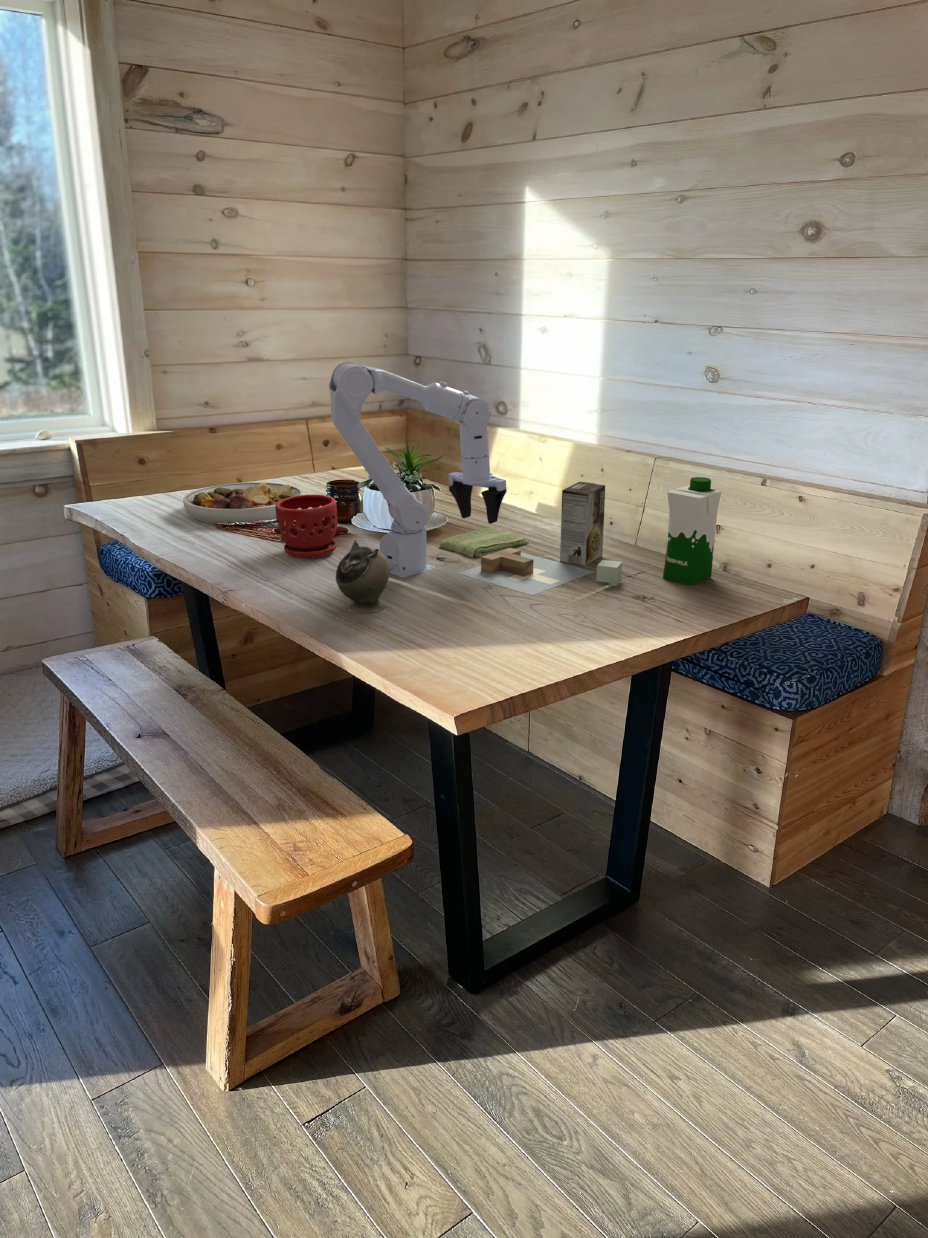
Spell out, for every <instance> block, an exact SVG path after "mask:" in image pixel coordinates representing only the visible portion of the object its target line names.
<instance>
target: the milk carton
mask: <svg viewBox="0 0 928 1238" xmlns="http://www.w3.org/2000/svg"><path fill="white" fill-rule="evenodd" d="M711 485H712V479H711V478H708V477H702V476H701V477H700V476H698V477H697V476H695V477H691V478H690V480H689V485H686V486H685V485H684V486H681V487H678V488H674V489H673V490H669V491H667V492H666V495H667V502H668V510H669V513H668V527H667V539H666V550H665V551H666V552H665V560H664V567H663V572H662V573H663V574H662V578H663V579H665V580H666V579H667V580H671V581H674V582H679V583H682V584H685V585H689V586H694V585H697V584H699V583H702V582H703V581H706V580H708V579H711V578H712V571H713V559H714V550H715V538H716V528H717V518H718V517H717V516H718V510H719V506H720V499H721V495H722V491H721V490H716V489H712V488H711V487H712V486H711Z"/></svg>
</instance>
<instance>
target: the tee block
mask: <svg viewBox="0 0 928 1238" xmlns="http://www.w3.org/2000/svg"><path fill="white" fill-rule="evenodd" d="M521 553H522V551H521V550H520V549H517V548H514V547H513V548H507V549H504V550H501V551H498V552H495V553H492V554H488V555H485V556H482V557H480V565H481V571H484V572H487V573H491V574H493V573H496V572H499V571H505V572H509V573H512V574H516V575H519V576H523V577H524V576H527V575H530V574H533V561H534V559H530V558H526V557H523V556H521Z"/></svg>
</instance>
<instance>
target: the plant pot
mask: <svg viewBox="0 0 928 1238" xmlns="http://www.w3.org/2000/svg"><path fill="white" fill-rule="evenodd" d="M297 508H299V509H297ZM275 509H276V518H277V521H276V522H277V526H278V529H279V533H280V535H281V538H282V539H283V541H284V542H285V544H284V545H283V549H284V552H285V553H286V554H287V555H289V556H290V557H293V558H296V559H307V560H308V559H319V558H322V557H325V556H328V555H330V554H332V553H333V552H334V551H335V550H336V548H337V546H338V543H337V541H336V540H335V539H334V538H335V536H336V533H337V532H336V531H337V525H338V524H337V523H338V506H337V501H336V499H335V498H334V497H332V496H330V495H326V494H303V495H299V496H293V497H289V498H285V499H282V500H280V501H278V502H277V503H276V505H275Z"/></svg>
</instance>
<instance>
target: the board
mask: <svg viewBox="0 0 928 1238" xmlns="http://www.w3.org/2000/svg"><path fill="white" fill-rule="evenodd" d="M521 556H523V557H526V558H530V559H534V561H533V574H530V575H527V576H524V577H523V576H519V575H516V574H512V573H509V572H505V571H499V572H496V573H493V574H491V573H487V572H484V571H481V564H480V565H477V566H475V567H472V568H469V569H466V570H463V571H459V572H457V574H458V575H462V576H464V577H465V576H466V577H468V578H472V579H475V580H478V581H482V582H485V583H488V584H489V583H490V584H492V585H495V586H498V587H503V588H505V589H509V590H511V591H512V590H513V591H516V592H519V593H523V594H526V595H530V596H534V595H538V594H540V593H543V592H545V591H548V590H550V589H553V588H555V587H558V586H561V585H564V584H567V583H568V582H572V581H574V580H577V579H579V578H582V577H583V578H584V577H585V576H587V575H590V574H593V573H595V571H594V570H590V569H585V568H583V567H577V566H574V565H570V564H566V563H563V562H560V561H559V562H558V561H555V560H552V559H547V558H543V557H539V556H535V555H532V554H528V553H525V552H521Z"/></svg>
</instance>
